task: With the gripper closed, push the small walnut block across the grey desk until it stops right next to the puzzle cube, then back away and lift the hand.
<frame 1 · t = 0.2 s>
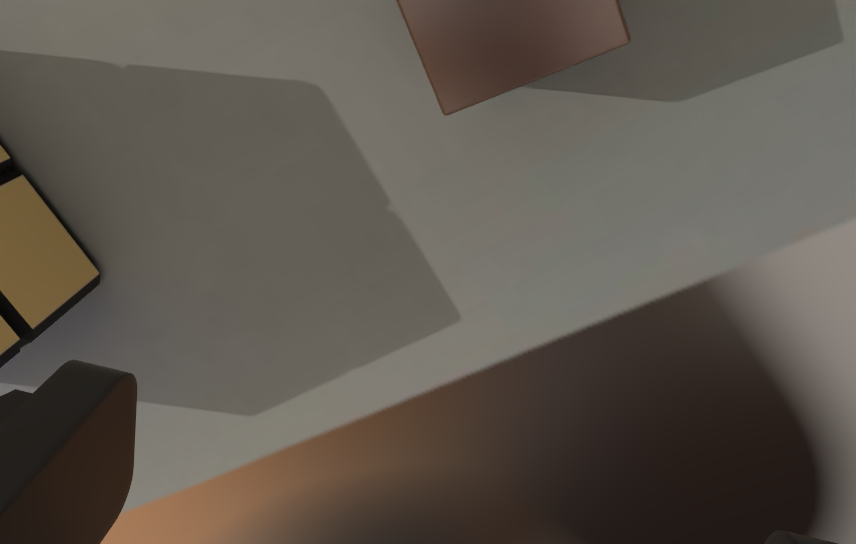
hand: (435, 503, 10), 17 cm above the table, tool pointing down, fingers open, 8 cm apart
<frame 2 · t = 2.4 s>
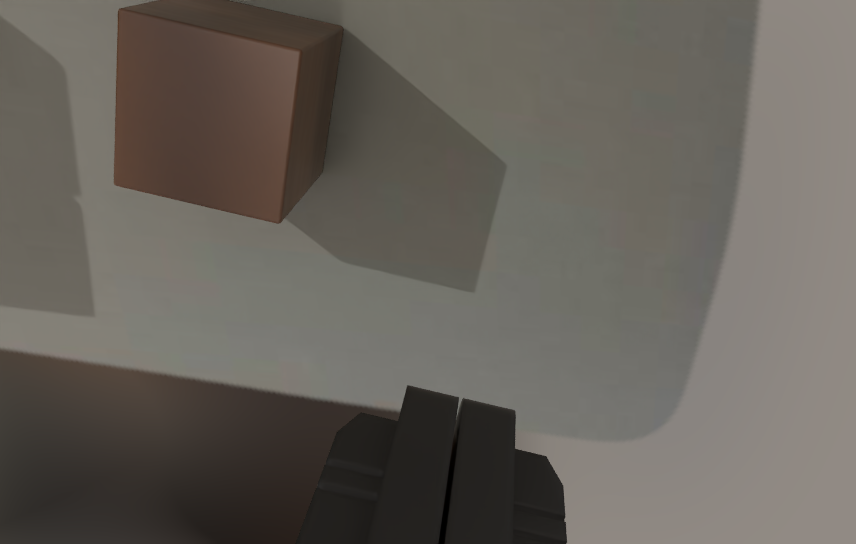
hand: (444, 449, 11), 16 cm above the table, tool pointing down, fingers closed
walnut block: (260, 86, 26), on the table
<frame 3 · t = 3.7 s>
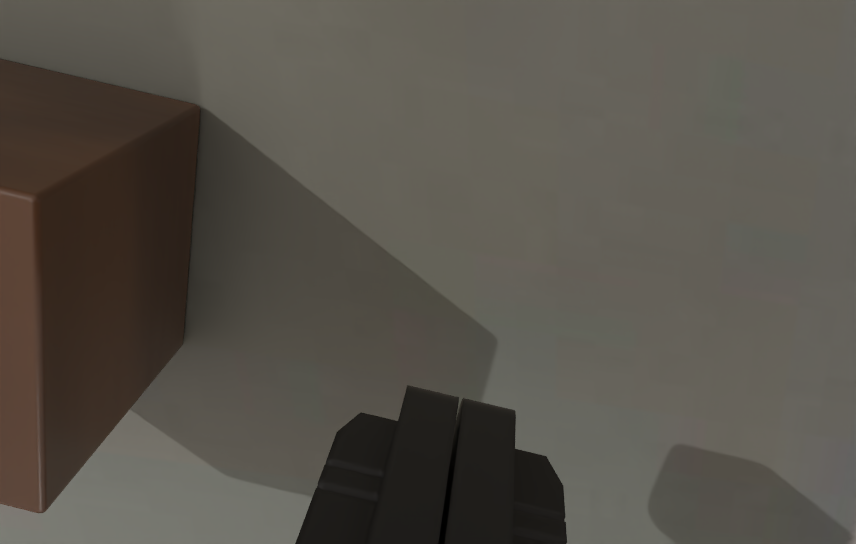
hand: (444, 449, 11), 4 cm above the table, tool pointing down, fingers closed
walnut block: (65, 203, 15), on the table
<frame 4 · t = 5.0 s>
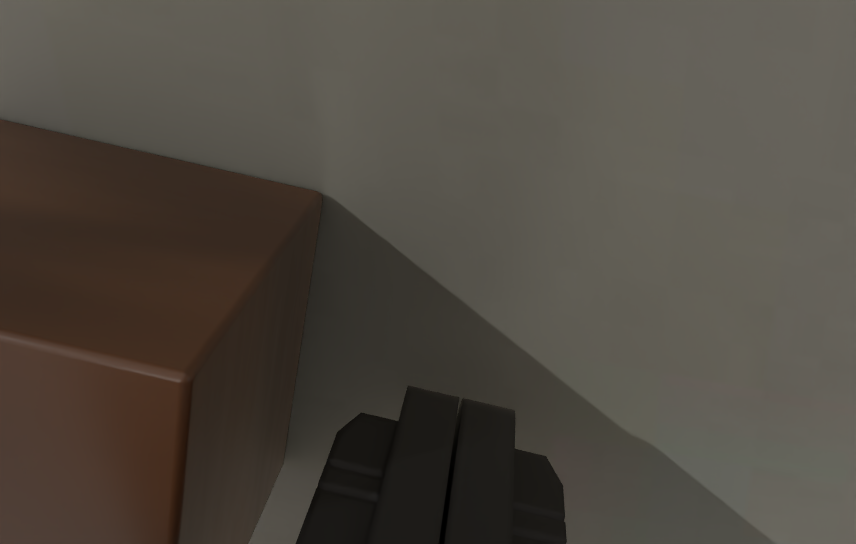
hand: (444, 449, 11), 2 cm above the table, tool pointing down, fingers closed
walnut block: (147, 304, 12), on the table, touching gripper
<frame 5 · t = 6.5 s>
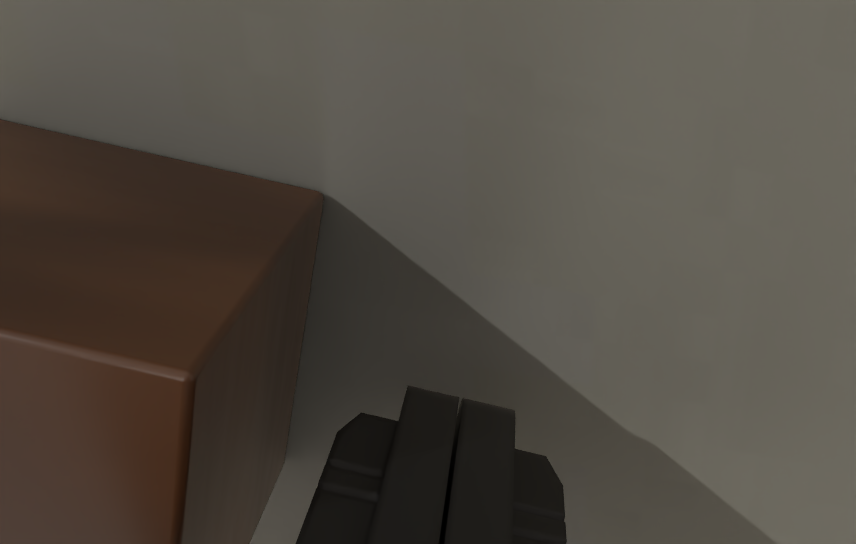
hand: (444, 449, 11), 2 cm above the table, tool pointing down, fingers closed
walnut block: (148, 303, 12), on the table, touching gripper
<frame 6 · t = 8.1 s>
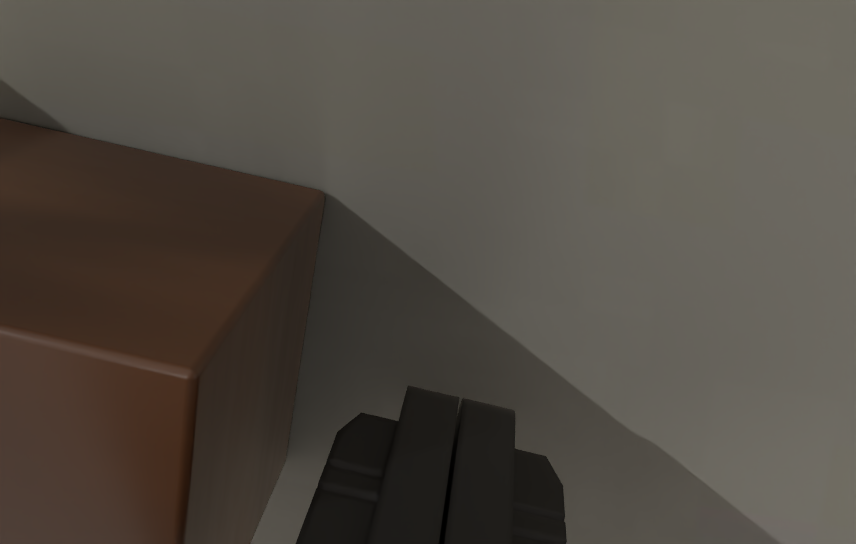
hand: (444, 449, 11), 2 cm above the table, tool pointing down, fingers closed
walnut block: (150, 302, 12), on the table, touching gripper
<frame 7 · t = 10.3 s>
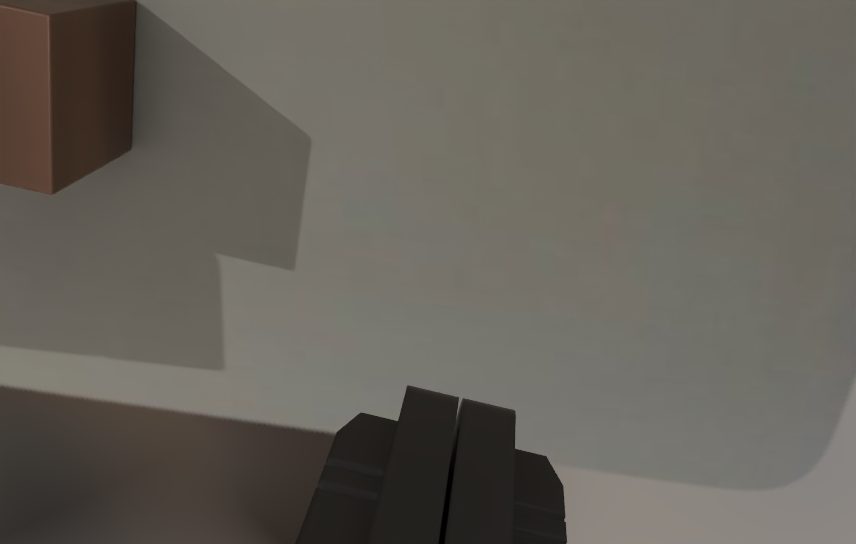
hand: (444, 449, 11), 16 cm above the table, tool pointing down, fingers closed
walnut block: (60, 62, 25), on the table
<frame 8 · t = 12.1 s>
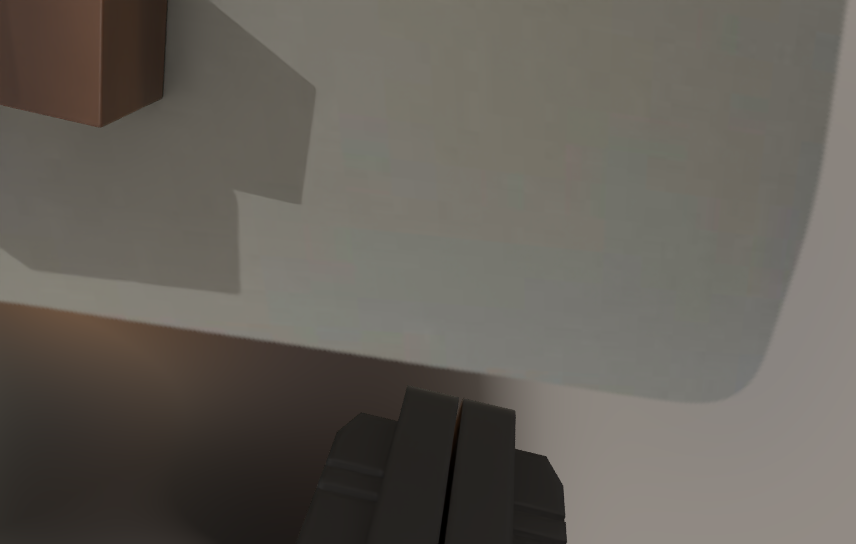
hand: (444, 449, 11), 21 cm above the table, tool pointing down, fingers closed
walnut block: (104, 21, 30), on the table
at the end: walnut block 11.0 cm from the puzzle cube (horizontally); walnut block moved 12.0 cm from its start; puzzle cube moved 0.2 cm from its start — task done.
